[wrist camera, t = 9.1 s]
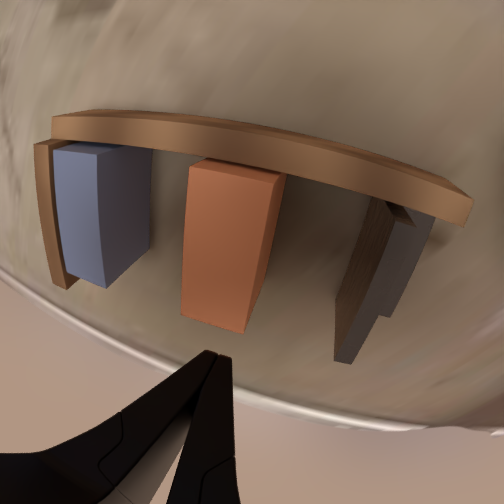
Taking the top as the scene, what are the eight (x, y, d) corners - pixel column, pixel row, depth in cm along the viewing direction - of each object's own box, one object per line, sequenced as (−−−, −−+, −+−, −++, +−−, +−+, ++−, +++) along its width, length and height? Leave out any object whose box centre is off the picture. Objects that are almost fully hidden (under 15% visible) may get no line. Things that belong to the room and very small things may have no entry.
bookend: (436, 205, 15) (473, 247, 10) (389, 312, 19) (399, 373, 14) (375, 184, 15) (395, 220, 11) (335, 299, 19) (333, 360, 15)
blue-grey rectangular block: (153, 137, 17) (96, 154, 12) (150, 248, 21) (106, 288, 16) (111, 133, 18) (53, 149, 13) (112, 236, 22) (66, 272, 17)
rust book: (290, 159, 16) (273, 183, 11) (264, 278, 20) (243, 334, 15) (230, 147, 16) (189, 166, 12) (214, 265, 20) (181, 314, 16)
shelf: (445, 178, 14) (488, 211, 9) (380, 328, 20) (387, 389, 15) (93, 109, 17) (33, 120, 12) (96, 248, 22) (53, 283, 18)
